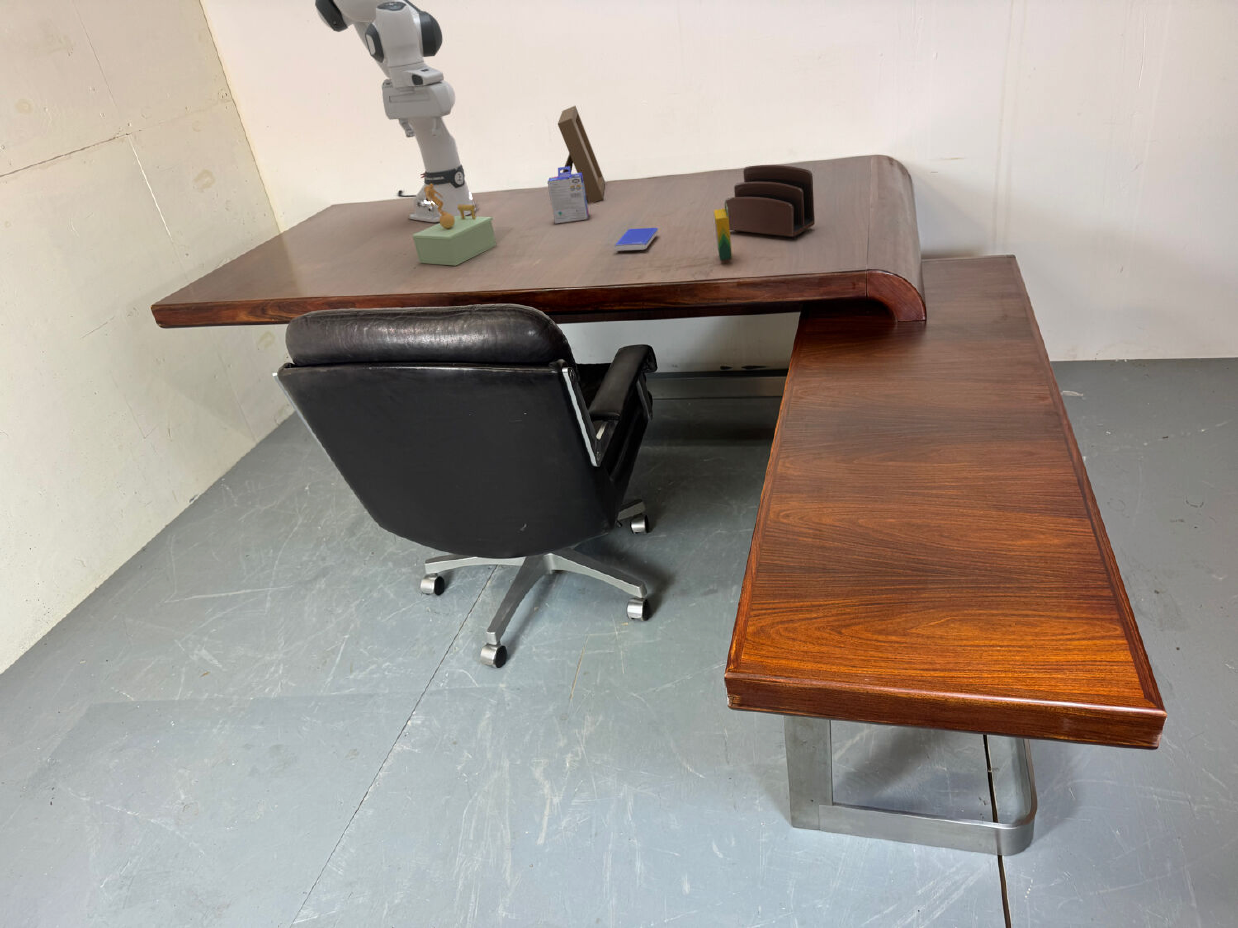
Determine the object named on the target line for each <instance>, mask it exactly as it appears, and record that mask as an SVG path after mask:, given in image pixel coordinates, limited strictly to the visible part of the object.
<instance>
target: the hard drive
mask: <svg viewBox="0 0 1238 928" xmlns="http://www.w3.org/2000/svg"><path fill="white" fill-rule="evenodd" d="M658 234H659V228H658V227H645V228H641V227H640V228H629V229H627V230H626V231H625V233H623V235H622V236H621V237H620V239H618V241H617V242H616V243H615V244H614V250H615V251H639V250H641V251H642V250H647V248H648V247H649V245H650V244H651V243H652V241H653V240H654V239H655V238H656V236H657V235H658Z"/></svg>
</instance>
